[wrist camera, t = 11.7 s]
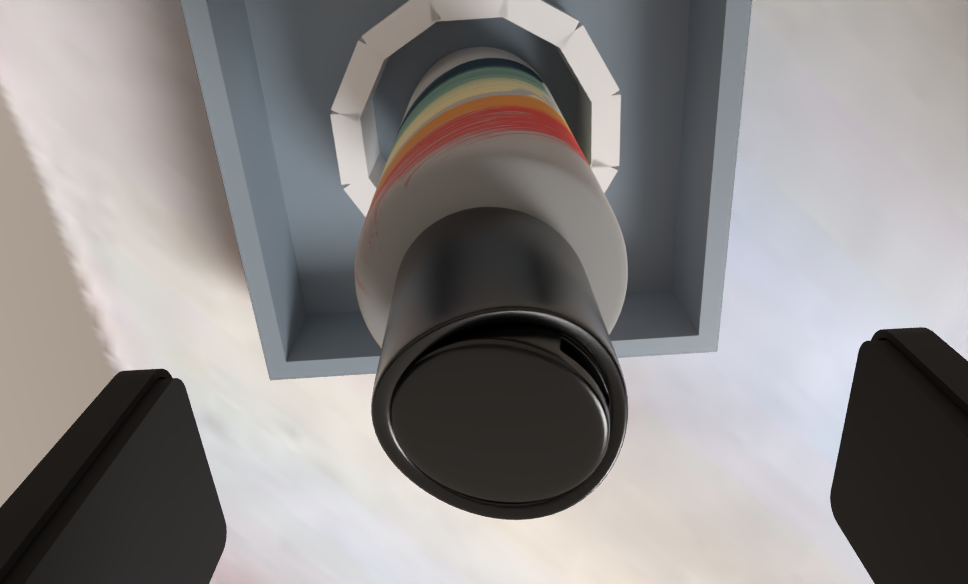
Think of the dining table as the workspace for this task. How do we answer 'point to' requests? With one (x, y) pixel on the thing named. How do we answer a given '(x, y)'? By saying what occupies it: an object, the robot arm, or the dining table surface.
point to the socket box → (379, 113)
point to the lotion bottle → (493, 296)
